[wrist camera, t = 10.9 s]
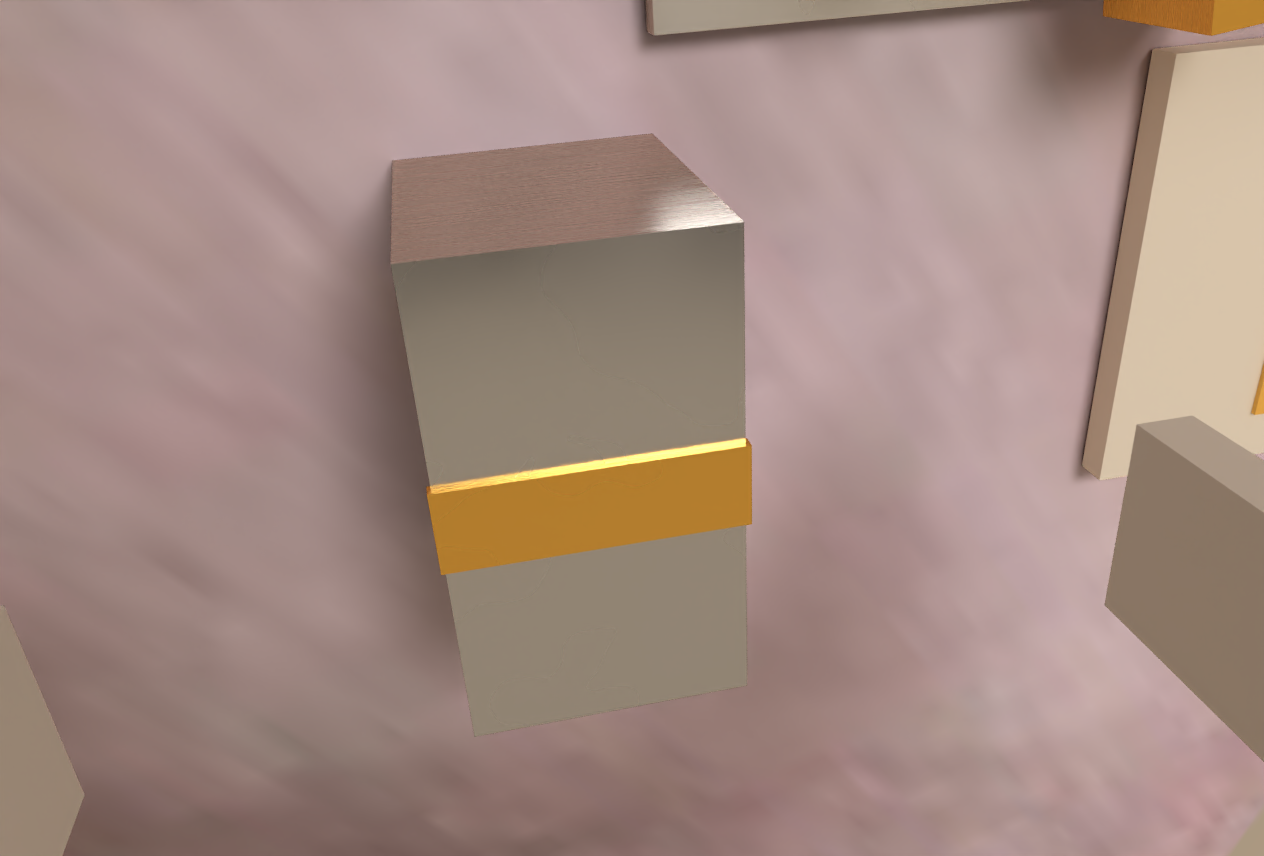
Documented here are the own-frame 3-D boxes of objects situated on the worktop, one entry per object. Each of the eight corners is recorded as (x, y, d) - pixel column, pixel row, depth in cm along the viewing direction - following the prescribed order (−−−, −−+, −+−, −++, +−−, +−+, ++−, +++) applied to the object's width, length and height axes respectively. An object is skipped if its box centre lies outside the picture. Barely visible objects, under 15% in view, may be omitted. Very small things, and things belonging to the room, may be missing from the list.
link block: (454, 542, 19) (471, 742, 14) (389, 159, 16) (386, 267, 11) (671, 507, 19) (752, 689, 15) (654, 132, 16) (750, 223, 12)
